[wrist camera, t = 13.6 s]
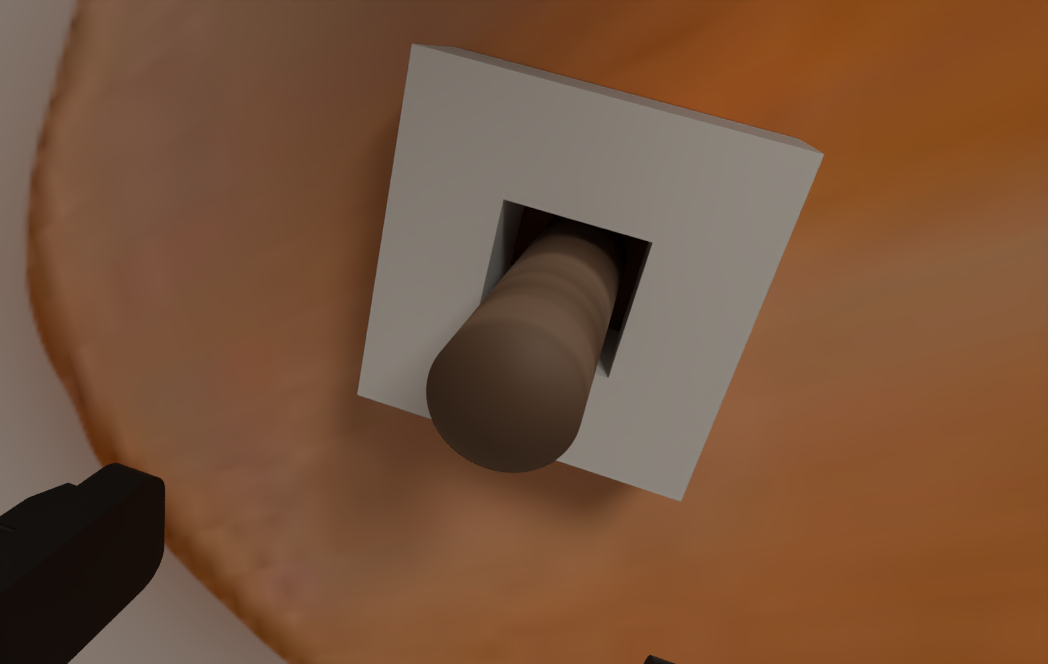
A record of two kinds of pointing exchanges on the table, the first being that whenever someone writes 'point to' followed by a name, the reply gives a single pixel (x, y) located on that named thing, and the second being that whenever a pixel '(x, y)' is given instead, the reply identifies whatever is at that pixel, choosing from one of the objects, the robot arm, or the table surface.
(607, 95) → the block
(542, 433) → the walnut peg
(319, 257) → the table surface
